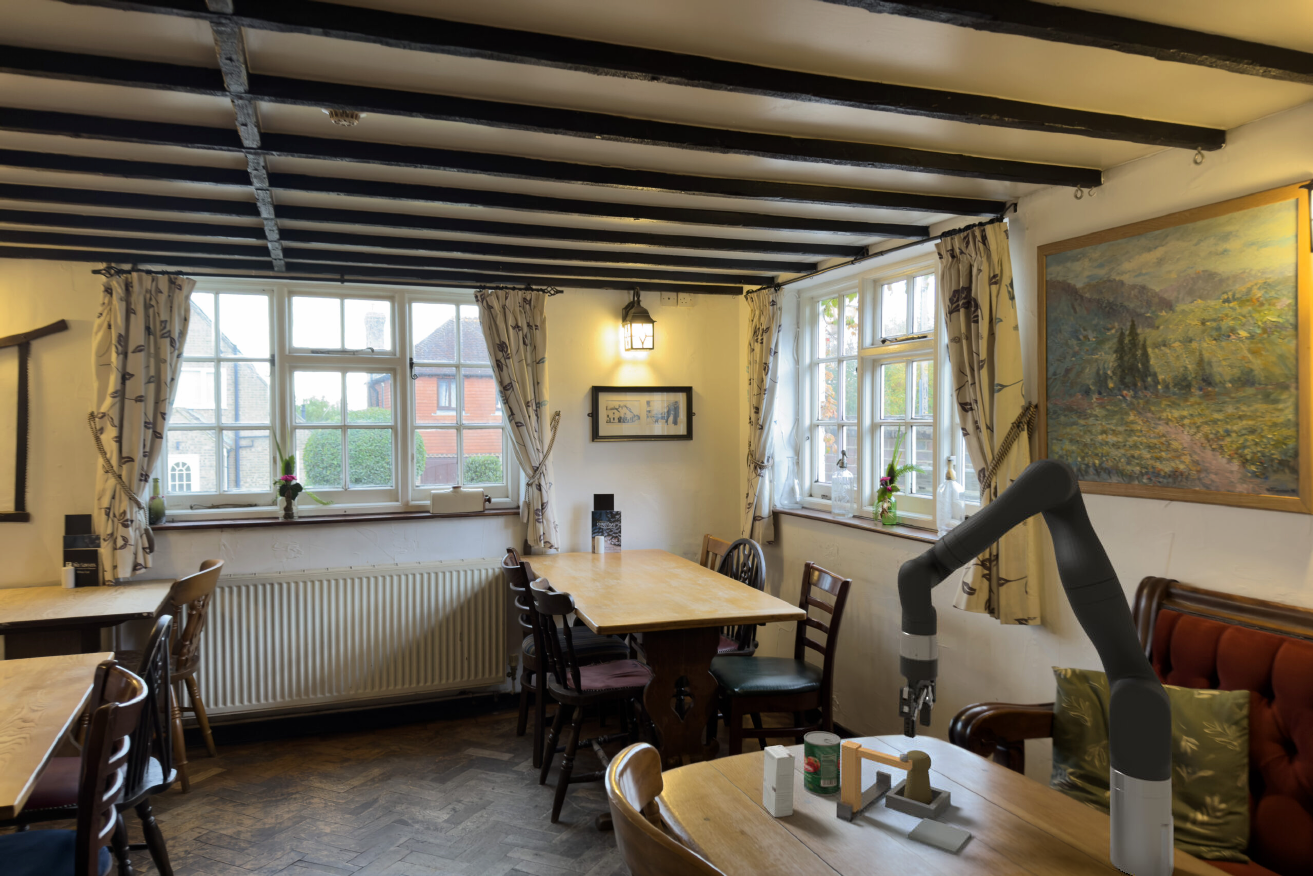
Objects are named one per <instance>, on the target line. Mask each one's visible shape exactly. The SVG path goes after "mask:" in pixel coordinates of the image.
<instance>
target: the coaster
mask: <svg viewBox="0 0 1313 876" xmlns="http://www.w3.org/2000/svg"><path fill="white" fill-rule="evenodd" d="M971 837H972V832H970V831H967V830H964V829H961V828H958V827H955V826H952V825H949V824H946V823H943V822H940V821H937V820H935V821H934V820H931V819H928V818H924V819H922V820H920V822H919V823H917V824H916V825H915V827H914V828H913V829H912V830H911V831H910V832H909V833H907V839H909V840H912V841H914V842H917V843H919V844H923V845H926V846H929V847H931V848H935V849H937V850H940V851H943V852H945V853H949V854H951V855H954V856H956V855H957V854H958V853H959V851H960V850H961V849H962V848H963V847H964V845H965V844H966V843H967V841H968V840H969V839H970V838H971Z"/></svg>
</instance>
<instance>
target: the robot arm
mask: <svg viewBox="0 0 1313 876" xmlns="http://www.w3.org/2000/svg"><path fill="white" fill-rule="evenodd" d="M1040 513H1041V515H1042V517H1043V520H1044V521H1045V524H1046V526H1047V529H1048V530H1049V533H1050V537H1051V541H1052V544H1053V551H1054V556H1055V562H1056V568H1057V571H1058V575H1059V579H1060V582H1061V586H1062V588H1063V591H1064V593H1065V595H1066V598H1067V601H1068V602H1069V606H1070V607H1071V610H1072V612H1073V613H1074V616H1075V618H1076V620H1077V621H1078V623H1079V625H1080V626H1081V628H1082V629H1083V631H1084V632H1085V634H1086V636H1087V637H1088V639H1089V640H1090V642H1091V644H1092V645H1093V646H1094V648H1095V650H1096V652H1097V654H1098V657H1099V659H1100V662H1101V664H1102V667H1103V671H1104V673H1105V676H1106V679H1107V683H1108V686H1109V691H1110V692H1109V693H1110V698H1109V703H1108V732H1109V733H1108V743H1109V744H1108V746H1109V747H1108V748H1109V760H1110V761H1109V777H1110V778H1109V791H1110V793H1109V795H1110V796H1109V797H1110V798H1109V802H1110V803H1109V807H1110V809H1109V811H1110V813H1109V825H1110V826H1109V827H1110V828H1109V829H1110V830H1109V833H1110V834H1109V835H1110V836H1109V838H1110V839H1109V840H1110V841H1109V843H1110V844H1109V852H1110V853H1109V857H1110V859H1109V860H1110V862H1111V864H1112V865H1113V867H1115V868H1116V869H1118V870H1119V869H1120V870H1119V871H1120V872H1122V871H1123V872H1122V873H1124V872H1125V874H1126V873H1128V874H1132V875H1135V876H1173V873H1174V862H1175V861H1174V816H1173V814H1172V768H1173V767H1172V764H1173V761H1172V760H1173V757H1172V756H1173V755H1172V751H1173V750H1172V747H1173V746H1172V745H1173V744H1172V735H1173V733H1172V731H1173V729H1172V727H1173V726H1172V721H1173V718H1172V704H1171V703H1172V702H1171V700H1170V697H1169V694H1168V692H1167V691H1166V689H1165V687H1164V686H1163V684H1162V682H1161V680H1160V679H1159V677H1158V675H1157V673H1156V672H1155V670H1154V668H1153V666H1152V664H1151V663H1150V660H1149V658H1148V656H1147V655H1146V653H1145V651H1144V648H1143V646H1142V643H1141V640H1140V638H1139V634H1138V629H1137V627H1136V624H1135V620H1134V617H1133V613H1132V611H1131V607H1130V605H1129V602H1128V599H1127V597H1126V594H1125V591H1124V590H1123V587H1122V584H1121V581H1120V580H1119V577H1118V574H1117V572H1116V570H1115V568H1114V566H1113V564H1112V561H1111V560H1110V558H1109V555H1108V554H1107V552H1106V550H1105V548H1104V546H1103V544H1102V542H1101V540H1100V538H1099V536H1098V535H1097V532H1096V531H1095V529H1094V527H1093V525H1092V522H1091V519H1090V516H1089V514H1088V511H1087V507H1086V504H1085V500H1084V498H1083V494H1082V492H1081V487H1080V483H1079V480H1078V476H1077V474H1076V471H1075V470H1074V469H1073V468H1072V467H1071V466H1070V465H1069V464H1068V463H1066V462H1065V461H1063V460H1060V459H1056V458H1044V459H1038V460H1035V461H1033V462H1031V463H1029V464H1028V465H1027V466H1026V467H1025V468H1024V469H1023V471H1022V472H1021V473H1020V474H1019V475H1018V476H1017V478H1016V479H1014V480H1013V481H1012V483H1010V485H1008V487H1007V488H1005V490H1004V491H1002V492H1001V493H1000V494H999V495H998V496H997V497H996V498H995V499H993V500H992V501H991V502H990V503H989V504H986V505H985V506H984V507H983V508H981V509H980V510H978V511H977V512H975V513H974V514H972V515H971V516H969V517H968V518H967V519H965V520H963V521H961V522H960V523H959V524H958V525H956V526H955V527H953V528H952V529H951V530H949V531H948V532H947V533H945V534H944V535H942V536H941V537H939V539H937V541H936V542H935V543H934V545H933V546H931V547H930V548H928V549H927V550H926V551H925V552H923V553H921V554H920V555H918V556H916V557H914V558H912V559H911V558H910V559H909V560H907V561H905V562H903V563H902V564H901V566H900V567H899V570H898V573H897V591H898V596H899V602H900V607H901V633H900V641H899V674H900V675H901V676H902V677H904V678H906V680H907V682H906V685H905V686H900V688H899V701H898V702H899V706H898V717H900V718H903V735H904V737H907V738H911V739H914V738H915V737H916V736H917V731H916V730H917V715H918V711H919V725H920V726H922V727H923V726H924V727H927V728H929V727H931V725H932V709H933V707H934V704H936V702H937V678H938V672H939V671H938V666H939V665H938V664H939V663H938V661H939V659H938V658H939V653H938V652H939V645H938V644H939V642H938V635H937V632H938V630H937V629H938V628H937V627H938V613H937V609H936V607H935V606H934V605H933V604H932V603H933V601H932V600H933V599H932V598H933V597H932V589H934V588H935V587H937V586H938V585H939V584H942V582H944V581H945V580H946V579H947V578H949V577H950V576H951V575H952V574H953V573H954V572H956V571H957V570H959V569H960V568H962V567H964V566H966V565H967V564H968V563H970V562H971V561H972V560H974V559H976V558H977V557H979V556H980V555H981V554H983V553H984V552H986V551H988V549H989V548H990V547H992V546H993V545H994V544H996V543H997V542H998V541H999V540H1000V539H1001V538H1002V537H1003V536H1005V535H1006V534H1007V533H1008V532H1009V531H1011V530H1013V529H1014V528H1015V527H1017V526H1018V525H1020V524H1021V523H1022V522H1024V521H1027V520H1028V519H1030V518H1032V517H1034V516H1036V515H1038V514H1040ZM1128 874H1127V875H1128Z"/></svg>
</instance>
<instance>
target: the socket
mask: <svg viewBox="0 0 1313 876" xmlns="http://www.w3.org/2000/svg"><path fill="white" fill-rule="evenodd" d="M905 785H906V778H903V779H902V780H901V781H899V782H898V783H897V784H896V785H894V786H893V787H891V789H890V790H888V791H887V792H886V793H885V794H884V799H885V800H884V804H885V805H884V806H885V807H886V808H889V809H892V810H895V811H898V812H901V813H905V814H908V815H910V816H913V817H917V818H920V819H922V820H923V819H924V818H928V819H931V820H934V821H937V819H938V818H939V817H940V816H941V815H942V814H943V813H944V812H945V811H946V810H947V809H948V808H949V807H950V805H951V804H952V803H951V800H952V799H951V797H952V796H951V795H952V793H951V792H950V791H949V790H948V791H947V790H945V789H941V788H937V787H933V786H931V794H932V801H933V802H932V803H931V804H930V805H927V804H924V803H920V802H917V801H914V800H911V799H908V798H904V792H905Z"/></svg>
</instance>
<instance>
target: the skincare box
mask: <svg viewBox="0 0 1313 876" xmlns="http://www.w3.org/2000/svg"><path fill="white" fill-rule="evenodd" d="M763 755H764V756H763V757H764V759H763V784H762V785H763V786H762V789H763V790H762V804H763V806H764V808H765V809H766V810H767V811H768V813H770V814H771V815H772V816H773V818H774V817H775V818H781V817H782V818H783V817H787V816H792V815H793V813H794V811H793V810H794V790H795V789H794V786H795V785H794V784H795V762H796V761H795V758H796V757H795V755H794V754H792V753H791V751H790V750H788V748H786V747H785V746H784V745H781V744H779V745H773V746H765V747H764V754H763Z"/></svg>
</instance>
